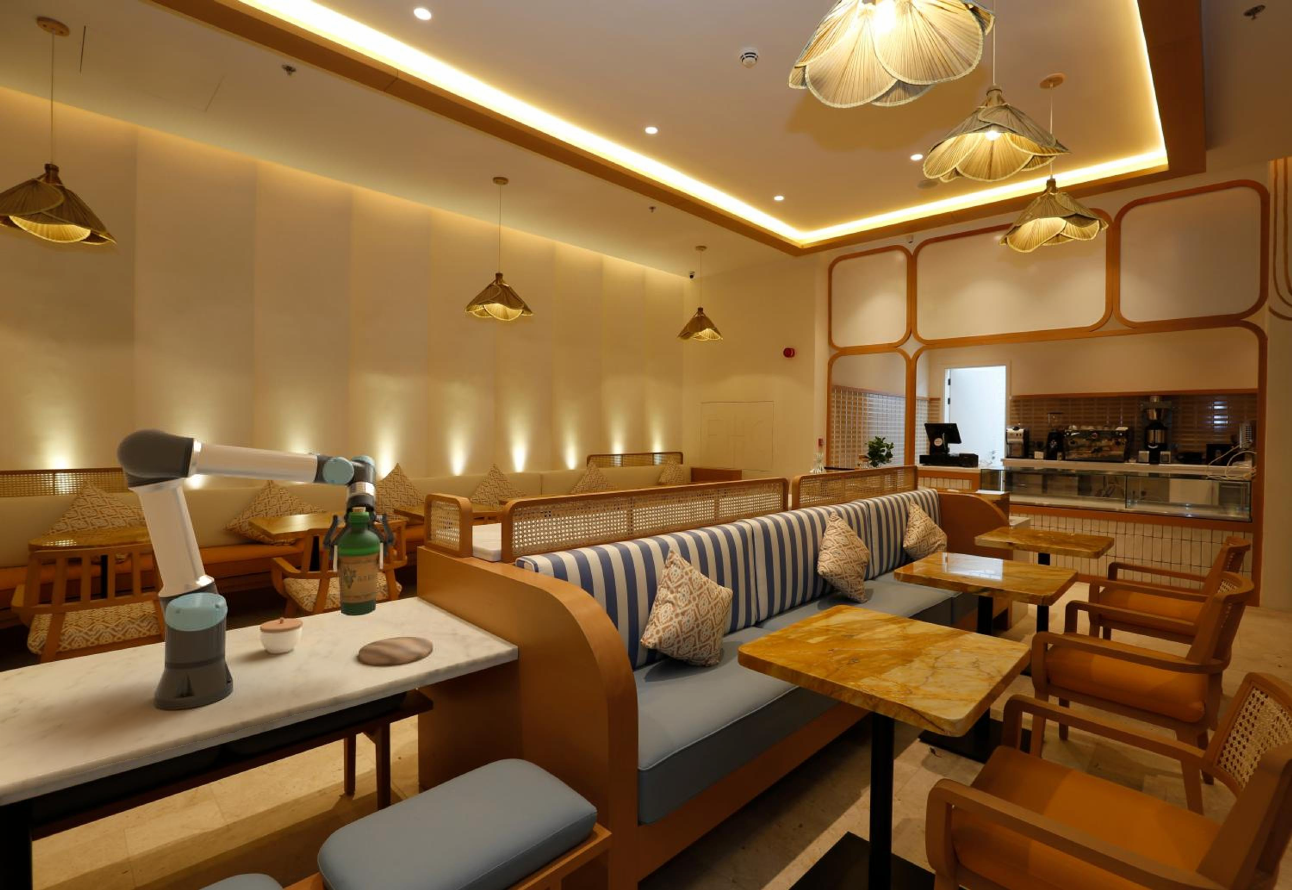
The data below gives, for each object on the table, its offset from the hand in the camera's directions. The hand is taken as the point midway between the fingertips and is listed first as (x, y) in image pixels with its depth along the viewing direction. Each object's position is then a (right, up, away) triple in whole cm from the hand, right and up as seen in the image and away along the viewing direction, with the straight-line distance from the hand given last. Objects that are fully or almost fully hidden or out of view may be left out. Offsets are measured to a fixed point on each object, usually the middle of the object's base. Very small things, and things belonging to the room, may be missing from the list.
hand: (358, 567), depth 158 cm
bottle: (-1, -13, +3) cm, 13 cm away
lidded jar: (-31, -28, +18) cm, 46 cm away
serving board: (+3, -29, +18) cm, 34 cm away
